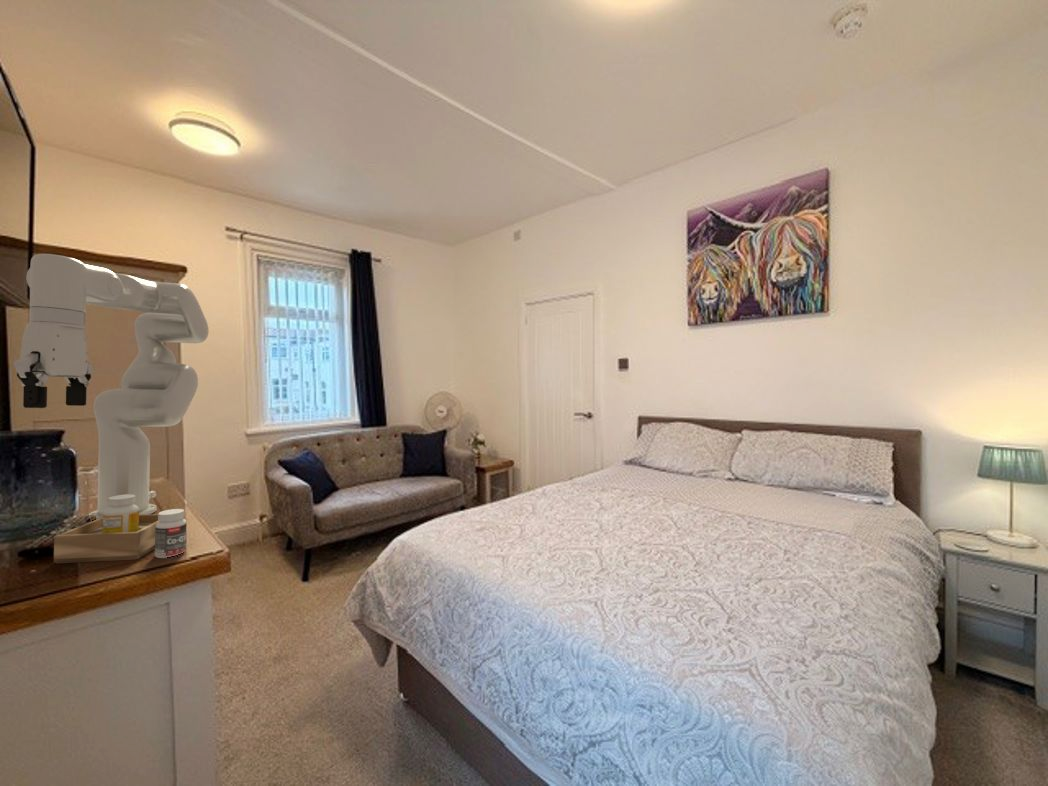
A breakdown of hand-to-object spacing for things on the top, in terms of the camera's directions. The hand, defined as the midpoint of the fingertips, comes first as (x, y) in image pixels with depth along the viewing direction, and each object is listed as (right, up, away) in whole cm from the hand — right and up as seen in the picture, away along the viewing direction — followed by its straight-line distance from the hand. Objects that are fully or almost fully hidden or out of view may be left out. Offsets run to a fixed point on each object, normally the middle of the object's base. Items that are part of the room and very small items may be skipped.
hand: (56, 406), depth 86 cm
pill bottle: (+23, -29, -1) cm, 37 cm away
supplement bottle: (+11, -28, +2) cm, 30 cm away
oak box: (+11, -29, +1) cm, 31 cm away
